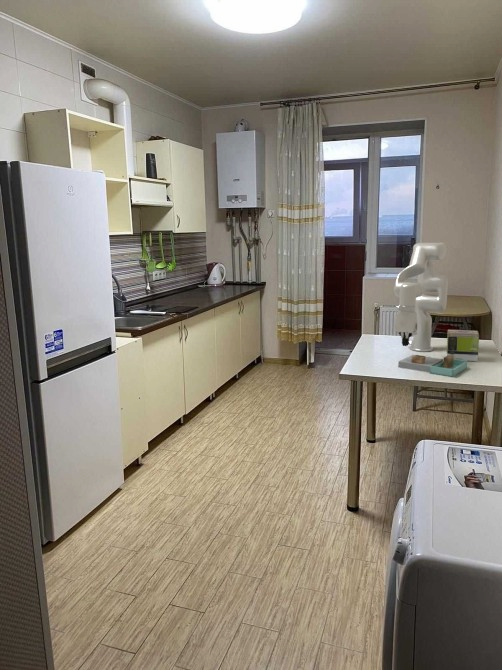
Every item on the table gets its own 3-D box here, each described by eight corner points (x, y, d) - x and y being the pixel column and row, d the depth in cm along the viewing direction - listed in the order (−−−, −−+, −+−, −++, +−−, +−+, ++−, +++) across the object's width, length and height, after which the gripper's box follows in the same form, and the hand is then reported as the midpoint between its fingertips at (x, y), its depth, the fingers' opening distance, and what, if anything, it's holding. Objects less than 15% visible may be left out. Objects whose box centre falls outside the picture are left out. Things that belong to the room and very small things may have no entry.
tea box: (476, 357, 274) (478, 330, 272) (477, 362, 265) (479, 333, 262) (446, 355, 279) (447, 328, 276) (446, 360, 270) (448, 332, 267)
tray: (429, 373, 246) (429, 366, 246) (444, 364, 261) (445, 357, 260) (452, 377, 239) (453, 369, 239) (467, 368, 254) (467, 361, 253)
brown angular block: (443, 357, 253) (449, 358, 251) (447, 355, 257) (453, 356, 255) (443, 367, 254) (449, 368, 252) (446, 365, 258) (452, 366, 256)
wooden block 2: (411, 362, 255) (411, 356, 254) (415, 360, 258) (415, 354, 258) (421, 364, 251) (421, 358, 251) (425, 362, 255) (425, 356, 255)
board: (398, 367, 258) (398, 361, 257) (412, 360, 271) (412, 354, 270) (429, 372, 248) (430, 366, 247) (442, 365, 260) (443, 359, 260)
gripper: (389, 308, 256) (387, 344, 259) (418, 311, 246) (416, 348, 250) (396, 307, 262) (394, 342, 265) (424, 309, 252) (422, 346, 255)
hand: (405, 345), depth 257 cm, fingers closed
